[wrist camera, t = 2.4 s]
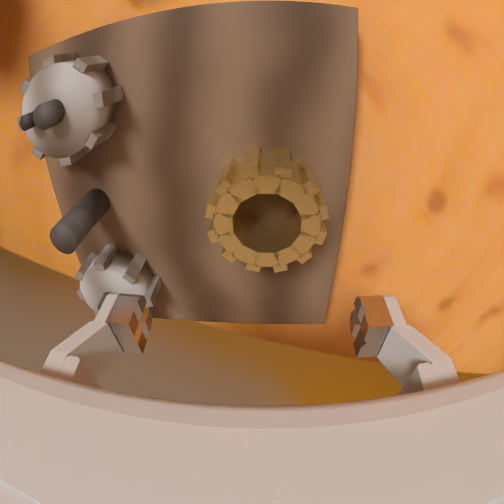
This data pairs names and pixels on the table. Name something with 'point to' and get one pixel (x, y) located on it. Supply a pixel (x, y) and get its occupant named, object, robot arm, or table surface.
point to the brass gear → (267, 232)
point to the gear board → (194, 149)
